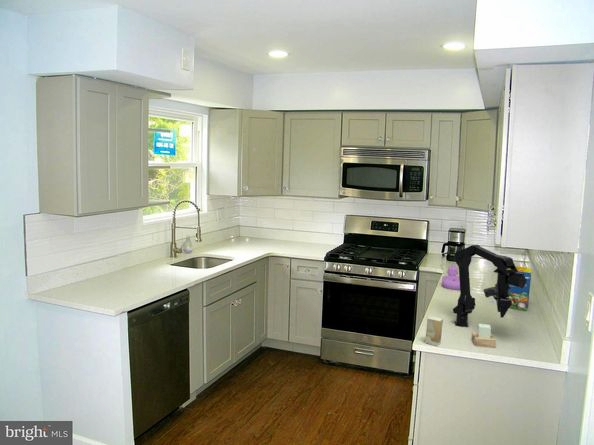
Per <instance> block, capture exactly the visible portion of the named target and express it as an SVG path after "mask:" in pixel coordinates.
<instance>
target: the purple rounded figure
mask: <svg viewBox="0 0 594 445" xmlns="http://www.w3.org/2000/svg"><path fill="white" fill-rule="evenodd" d="M446 272H447V275H443V276H442V278H441V287H442V288H444V289H445V288H446V290H449V289H450V291H460V279H459V276H458V275H459V267H458V266H455V264H451V265H450V266H448V267H447V271H446Z"/></svg>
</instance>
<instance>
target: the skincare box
mask: <svg viewBox="0 0 594 445" xmlns="http://www.w3.org/2000/svg"><path fill="white" fill-rule="evenodd" d="M443 322H444V319H443V318H440V317H437V316H432V315H430V316H429V317H427V320H426V330H425V341H424V343H425V344H428V345H431V346H436V347H438V346H440V345H441V343H442V342H441V341H442V340H441V339H442V332H443Z"/></svg>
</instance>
